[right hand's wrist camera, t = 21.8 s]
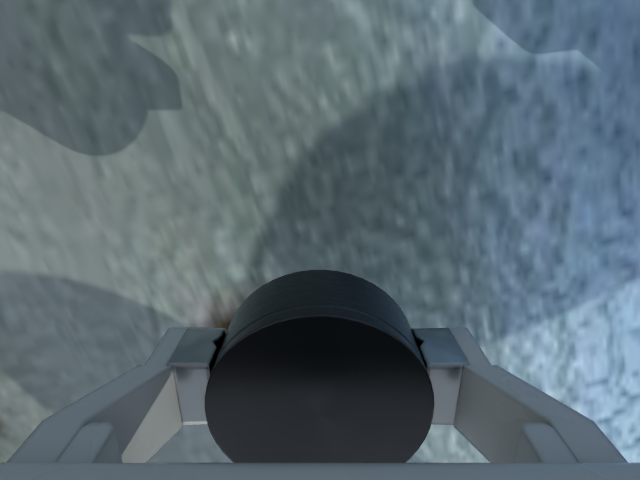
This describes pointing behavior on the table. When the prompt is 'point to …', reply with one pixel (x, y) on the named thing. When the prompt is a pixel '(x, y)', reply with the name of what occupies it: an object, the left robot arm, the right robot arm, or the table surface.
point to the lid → (319, 376)
